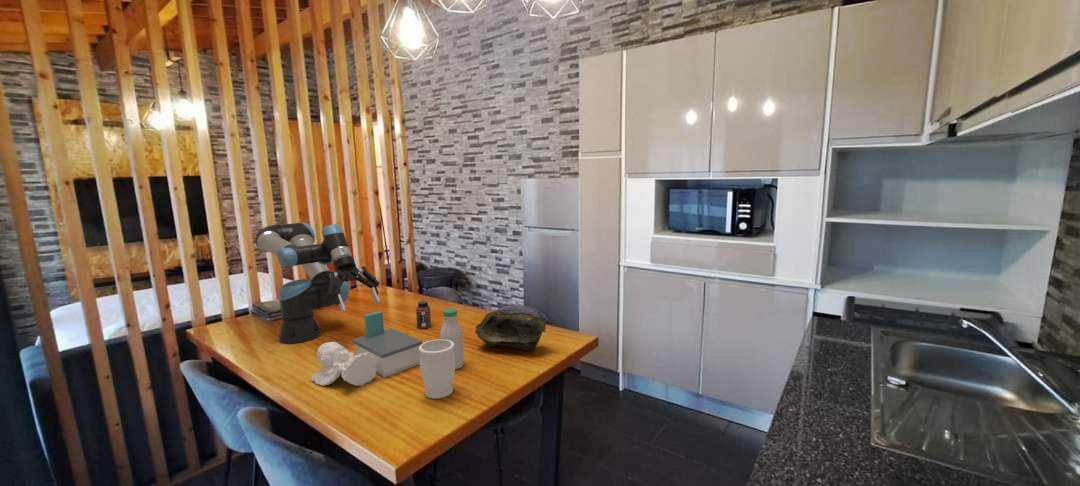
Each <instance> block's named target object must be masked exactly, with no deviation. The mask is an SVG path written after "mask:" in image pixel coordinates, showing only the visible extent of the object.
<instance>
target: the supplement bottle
mask: <svg viewBox="0 0 1080 486" xmlns="http://www.w3.org/2000/svg"><path fill="white" fill-rule="evenodd" d="M417 303H418V305H417V307H416V308H415V310H416V311H415V312H416V326H417V327H416V328H418V329H423V330H424V329H427V328H430V327H432V321H431V320H432V319H431V318H432V317H431V307H430V306H429V303H428V301H427V300H421V301H418V302H417Z"/></svg>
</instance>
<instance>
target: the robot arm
mask: <svg viewBox="0 0 1080 486" xmlns="http://www.w3.org/2000/svg"><path fill="white" fill-rule="evenodd" d="M321 234H322V237H323V240H322V243H315V242H316V235H315V233H314V229H313V227H312V226H311V225H310V224H309V223H307V222H295V223H285V224H283V223H282V224H270V225H267V226H265V227H262V229H260V230H259V231H258V232H257V233H256V234H255V237H254V243H255V245H256V247H257V248H258V249H259V250H260V251H263V252H265V253H270V254H272V255H274V256H276V257H277V261H278V263H279V266H281V267H283V268H287V267H296V266H301V267H302V268H303V269H304V272H305V274H306V275H307V277H308V278H309V279H308V278H302V279H296V280H295V279H294V280H292V281H289V282H286V283H284V284H283V285H280V287H279V289H278V300H279V305H280V314H281V315H280V316H281V325H280V329H279V331H278V332H279V333H278V341H279V342H280V343H282V344H298V343H305V342H308V341H312V340H314V339H316V338H318V337H319V336H320V335H321V332H322V331H321V327H320V326H319V323H318V321H317V320H316V318H315V311H314V310H317V309H321V308H326V307H330V306H337V305H338V307H339V310H340V312H341V314H342V313H343V314H344V312H345V311H346V306H345V304H344V303H345V302H347V300H348V299H349V296H350V295H349V294H350V286H349V282H353V281H357V282H360V283H361V284H363V285H364V286H366V287H367V288H369V291H370V292H369V293H370V294H371V297H372V298H373V299H372V300H373V301H374V304H375V305H378V304H379V303H380V298H379V296H378V295H379V291H378V289H377V287H379V285H380V282H379V281H378V280H377V279H376V277H374V276H373V275H372V274H371V273H370V272H369V271H368V270H367V269H366V266H361V267H359V268H358V267H357V265H356V262H355V259H354V257H353V254H352V251H351V249H350V246H349V245H348V241H347V238H346V236H345V233H344V231H343V229H342V227H341V226H340V225H339V224H329V225H326V226H324V228H323V229H322V230H321ZM332 263H333V266H334V269H335V271H336V272H335V271H332V270H330V269H329V267H328V266H327V265H330V264H332ZM363 276H364V277H363Z"/></svg>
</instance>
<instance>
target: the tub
mask: <svg viewBox="0 0 1080 486" xmlns="http://www.w3.org/2000/svg"><path fill="white" fill-rule="evenodd" d="M354 351H355V356H356V355H359V354H363V353H369V354H370V356H373V357H374V358H375V360H376V361H377V364H376V368H377V371H376V375H379V376H381V377H383V378H387V377H390V376H392V375H395V374H397V373H400V372H403V371H406V370H408V369H410V368H414V367H417V366H418V365H419V366H420V355H421V353H420V352H419V346H417V347H414V348H411V349H408V350H405V351H402V352H399V353H396V354H393V355H391V356H388V357H385V358H380V357H379V356H377V355H375V354H373V353H371V352H369V351H367V350H365V349H364V348H362V347H360V346H358V345H356V344H354Z"/></svg>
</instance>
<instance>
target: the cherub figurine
mask: <svg viewBox="0 0 1080 486" xmlns="http://www.w3.org/2000/svg"><path fill="white" fill-rule="evenodd" d="M317 348H318V349H317V351H316V359H317V362H318V363H319V364H320V366H322V368H321V370H319V371H317V372H315V373H314V374H312V375H311V379H310V381H312V382H314V384H316V385H320V386H322V387H324V386H328V385H331V384H333V383H334V382H335V381H336V380H337V379H338V378H340V376H341V378H342V379H343V381H344V382H347V384H351V385H354V386H356V387H357V386H360V387H363V386H364V385H366V384H367V383H370V382H372V381H373V380H374V379H373V378H375V376H376V375H377V373H376V371H377V368H376V364H377V361H376V360H375V358H374V357H373V356H370V354H369V353H363V354H359V355H356V354H355V353H354V352H351V351H350V352H349V351H348V350H347V348H345V346H343V345H341V344H340V343H338V342H336V341H331V342H324V343H322V344H321V345H320V346H319V347H317ZM354 354H355V355H354Z"/></svg>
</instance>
